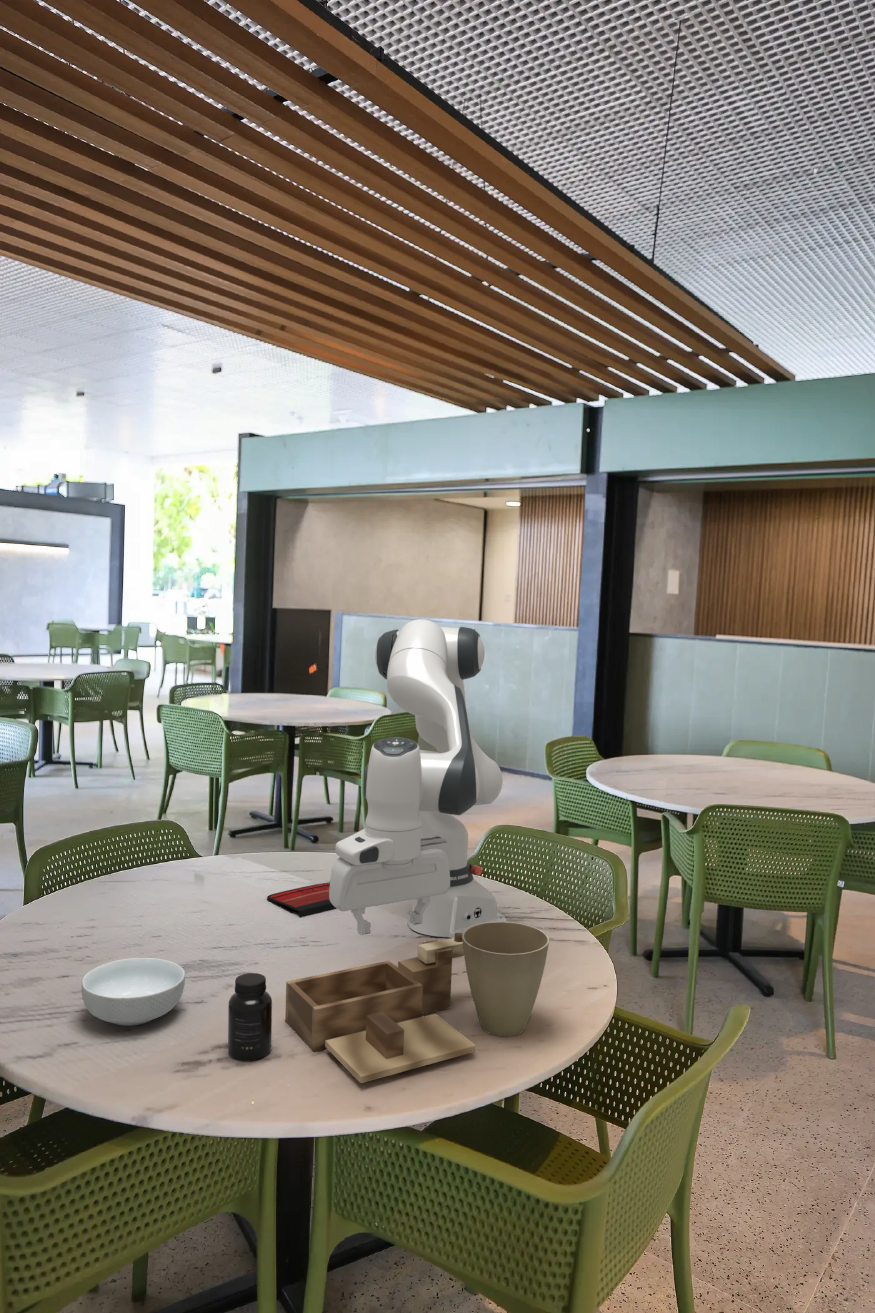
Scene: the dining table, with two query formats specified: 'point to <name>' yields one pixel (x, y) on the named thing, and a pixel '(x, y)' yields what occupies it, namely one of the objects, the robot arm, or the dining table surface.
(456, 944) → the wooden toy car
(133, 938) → the dining table surface
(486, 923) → the plant pot
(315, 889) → the binder
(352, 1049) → the lid
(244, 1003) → the supplement bottle
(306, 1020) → the open wooden box
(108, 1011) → the cereal bowl
